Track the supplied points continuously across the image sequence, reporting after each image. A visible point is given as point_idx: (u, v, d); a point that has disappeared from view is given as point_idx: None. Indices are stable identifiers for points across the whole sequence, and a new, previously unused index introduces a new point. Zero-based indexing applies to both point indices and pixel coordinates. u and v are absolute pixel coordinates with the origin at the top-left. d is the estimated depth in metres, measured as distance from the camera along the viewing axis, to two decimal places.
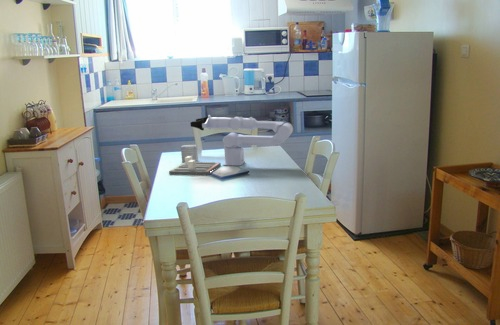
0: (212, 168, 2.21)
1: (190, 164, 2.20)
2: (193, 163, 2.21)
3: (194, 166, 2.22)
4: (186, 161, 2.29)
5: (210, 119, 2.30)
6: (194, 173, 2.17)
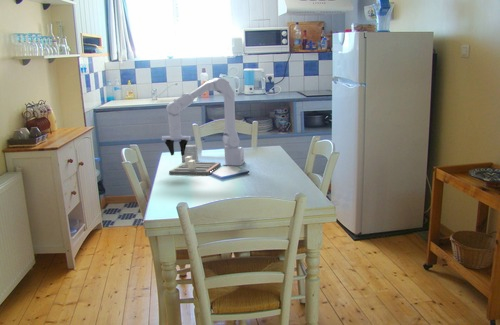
0: (212, 168, 2.21)
1: (190, 164, 2.20)
2: (193, 163, 2.21)
3: (194, 166, 2.22)
4: (186, 161, 2.29)
5: (177, 135, 2.18)
6: (194, 173, 2.17)
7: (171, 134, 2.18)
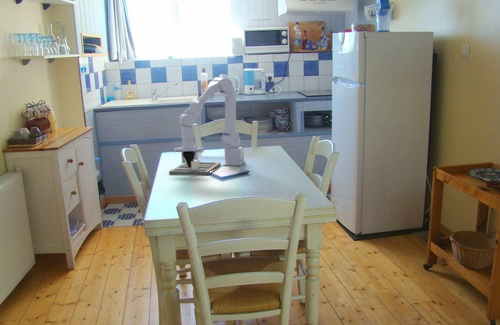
0: (212, 168, 2.21)
1: (194, 164, 2.19)
2: (196, 163, 2.20)
3: (197, 166, 2.21)
4: None
5: (190, 147, 2.18)
6: (194, 173, 2.17)
7: (184, 146, 2.18)
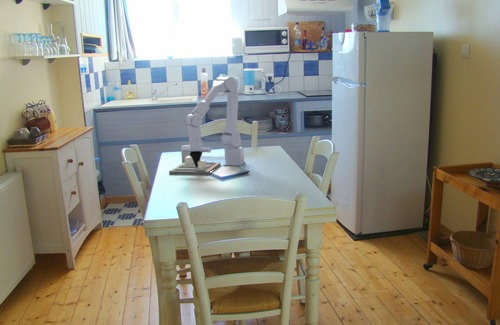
0: (212, 168, 2.21)
1: (200, 164, 2.18)
2: (203, 163, 2.19)
3: (204, 166, 2.20)
4: (186, 161, 2.29)
5: (197, 147, 2.16)
6: (194, 173, 2.17)
7: (191, 146, 2.17)
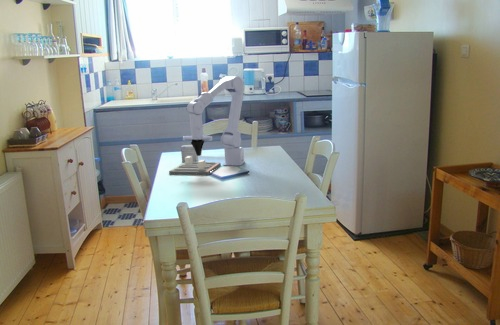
0: (212, 168, 2.21)
1: (200, 164, 2.18)
2: (203, 163, 2.19)
3: (204, 166, 2.20)
4: (186, 161, 2.29)
5: (199, 135, 2.15)
6: (194, 173, 2.17)
7: (192, 134, 2.15)
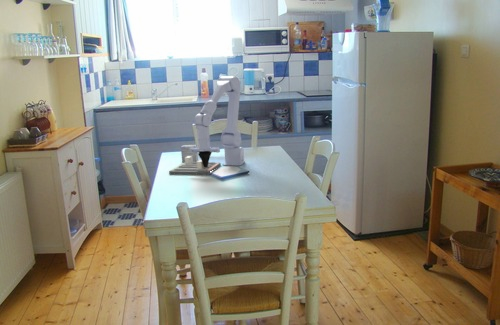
0: (212, 168, 2.21)
1: (199, 164, 2.18)
2: (202, 163, 2.19)
3: (203, 166, 2.21)
4: (186, 161, 2.29)
5: (206, 147, 2.15)
6: (194, 173, 2.17)
7: (200, 146, 2.15)
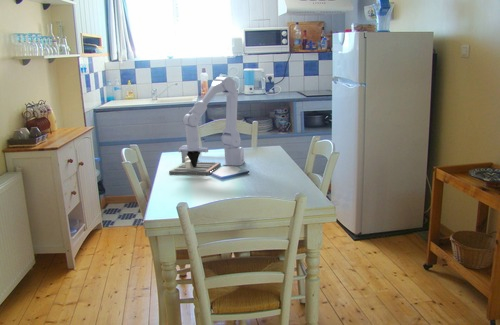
0: (212, 168, 2.21)
1: (188, 164, 2.20)
2: (191, 163, 2.21)
3: (192, 166, 2.22)
4: None
5: (194, 147, 2.17)
6: (194, 173, 2.17)
7: (188, 146, 2.17)
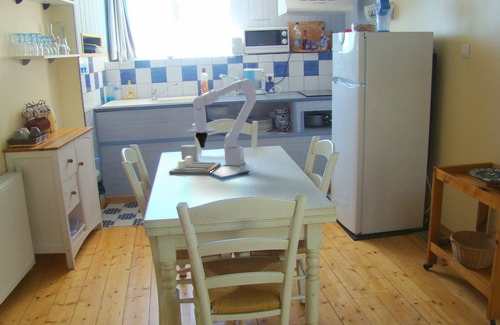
0: (212, 168, 2.21)
1: (181, 164, 2.21)
2: (183, 163, 2.22)
3: (184, 166, 2.23)
4: (186, 161, 2.29)
5: (202, 128, 2.27)
6: (194, 173, 2.17)
7: (197, 127, 2.28)
